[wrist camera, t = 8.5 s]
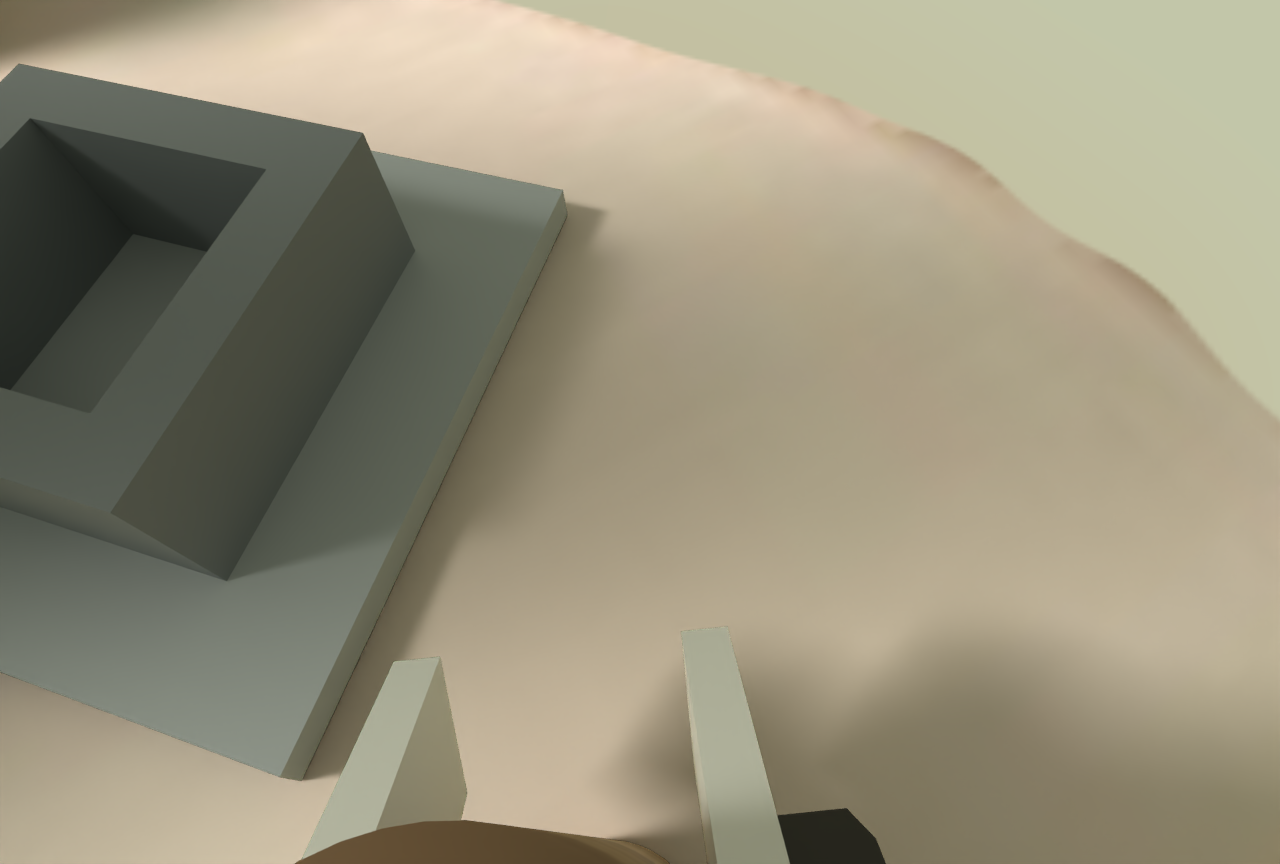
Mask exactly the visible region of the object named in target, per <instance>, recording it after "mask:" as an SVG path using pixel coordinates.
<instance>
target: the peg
mask: <svg viewBox="0 0 1280 864" xmlns="http://www.w3.org/2000/svg"><path fill="white" fill-rule="evenodd" d="M295 864H670V863H669V862H668V861H666V860H665V859H664V858H663V857H661V856H659V855H658V854H656V853H655V852H653V851H651V850H649V849H647V848H644V847H642V846H640V845H637V844H633V843H630V842H626V841H619V840H611V839H604V838H596V837H589V836H581V835H574V834H566V833H559V832H551V831H544V830H536V829H529V828H521V827H514V826H506V825H499V824H491V823H483V822H475V821H467V820H461V821H423V822H417V823H411V824H406V825H400V826H394V827H388V828H382V829H379V830H376V831H373V832H369V833H366V834H363V835H360V836H357V837H353V838H350V839H347V840H344V841H341V842H338V843H336V844H334V845H332V846H330V847H328V848H326V849H323V850H321V851H319V852H317V853H315V854H313V855H310V856H308V857H306V858H304V859H302V860H300V861H298V862H296V863H295Z"/></svg>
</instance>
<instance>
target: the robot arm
mask: <svg viewBox="0 0 1280 864" xmlns="http://www.w3.org/2000/svg"><path fill="white" fill-rule="evenodd" d="M681 635H682V646H683V657H684V667H685V678H686V688H687V699H688V709H689V720H690V731H691V741H692V752H693V762H694V772H695V779H696V786H697V793H698V800H699V807H700V814H701V821H702V828H703V836H704V843H705V850H706V857H707V864H886V863H885V860H884V858H883V855H882V853H881V851H880V848H879V846H878V843H877V841H876V838H875V837H874V836H873V835H872V834H871V833H870V832H869V831H868V830H867V829H866V828H865V827H864V826H863V825H862V824H861V823H860V822H859V821H858V820H857V819H856V818H855V817H854V816H853V815H852V814H851V812H850V811H849V810H848V809H847V808H844V809H834V810H825V811H815V812H806V813H796V814H787V815H777V813H776V809H775V805H774V801H773V798H772V794H771V790H770V786H769V783H768V779H767V775H766V771H765V767H764V764H763V760H762V756H761V752H760V748H759V745H758V741H757V737H756V733H755V729H754V726H753V722H752V718H751V714H750V711H749V707H748V703H747V699H746V695H745V692H744V688H743V684H742V680H741V676H740V673H739V669H738V665H737V661H736V657H735V654H734V650H733V646H732V642H731V639H730V635H729V631H728V627H717V628H708V629H698V630H689V631H681ZM466 797H467V789H466V784H465V779H464V774H463V769H462V764H461V759H460V754H459V749H458V744H457V739H456V734H455V729H454V724H453V719H452V714H451V709H450V704H449V699H448V694H447V689H446V684H445V679H444V673H443V668H442V663H441V658H440V657H432V658H423V659H413V660H404V661H394V662H393V664H392V667H391V669H390V671H389V673H388V675H387V677H386V679H385V682H384V684H383V686H382V688H381V690H380V692H379V694H378V697H377V699H376V701H375V703H374V705H373V707H372V709H371V712H370V714H369V716H368V718H367V720H366V722H365V724H364V727H363V729H362V731H361V733H360V735H359V737H358V739H357V742H356V744H355V746H354V748H353V750H352V752H351V754H350V757H349V759H348V761H347V763H346V765H345V767H344V769H343V772H342V774H341V776H340V778H339V780H338V782H337V784H336V787H335V789H334V791H333V793H332V795H331V797H330V799H329V802H328V804H327V806H326V808H325V810H324V812H323V814H322V817H321V819H320V821H319V823H318V825H317V827H316V829H315V832H314V834H313V836H312V838H311V840H310V842H309V844H308V847H307V849H306V851H305V853H304V855H303V857H302V859H304V858H306V857H308V856H310V855H313V854H315V853H317V852H319V851H321V850H323V849H326V848H328V847H330V846H332V845H334V844H336V843H338V842H341V841H344V840H347V839H350V838H353V837H357V836H360V835H363V834H366V833H369V832H373V831H376V830H379V829H382V828H388V827H394V826H400V825H406V824H411V823H417V822H423V821H461V818H462V814H463V809H464V805H465V801H466Z"/></svg>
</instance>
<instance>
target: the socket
mask: <svg viewBox="0 0 1280 864" xmlns="http://www.w3.org/2000/svg"><path fill="white" fill-rule="evenodd" d="M566 217H567V210H566V205H565V199H564V194H563V190H560V189H555V188H550V187H545V186H540V185H535V184H531V183H526V182H521V181H516V180H511V179H506V178H501V177H497V176H492V175H487V174H482V173H477V172H472V171H467V170H462V169H458V168H453V167H448V166H443V165H438V164H433V163H428V162H424V161H419V160H414V159H409V158H404V157H399V156H394V155H390V154H385V153H380V152H375V151H371V150H370V148H369V145H368V143H367V141H366V139H365V136H364V134H363V133H361V132H356V131H351V130H346V129H341V128H336V127H331V126H326V125H321V124H316V123H311V122H306V121H301V120H296V119H291V118H286V117H281V116H276V115H271V114H266V113H261V112H256V111H251V110H246V109H241V108H236V107H232V106H227V105H222V104H217V103H212V102H207V101H202V100H197V99H192V98H187V97H182V96H177V95H172V94H167V93H162V92H157V91H152V90H147V89H142V88H137V87H132V86H127V85H122V84H117V83H112V82H107V81H102V80H97V79H93V78H88V77H83V76H78V75H73V74H68V73H63V72H58V71H53V70H48V69H43V68H38V67H33V66H28V65H23V64H18V65H17V66H16V67H15V68H14V69H13V70H12V71H11V72H10V73H9V74H8V75H7V76H6V77H5V78H4V79H3V80H2V81H1V82H0V672H1V673H4V674H6V675H9V676H12V677H14V678H17V679H20V680H22V681H25V682H28V683H30V684H33V685H36V686H38V687H41V688H44V689H46V690H49V691H52V692H54V693H57V694H60V695H62V696H65V697H68V698H70V699H73V700H76V701H78V702H81V703H84V704H86V705H89V706H92V707H94V708H97V709H100V710H102V711H105V712H108V713H110V714H113V715H116V716H118V717H121V718H124V719H126V720H129V721H131V722H134V723H137V724H139V725H142V726H145V727H147V728H150V729H153V730H155V731H158V732H161V733H163V734H166V735H169V736H171V737H174V738H177V739H179V740H182V741H185V742H187V743H190V744H193V745H195V746H198V747H201V748H203V749H206V750H209V751H211V752H214V753H217V754H219V755H222V756H225V757H227V758H230V759H233V760H235V761H238V762H241V763H243V764H246V765H249V766H251V767H254V768H257V769H259V770H262V771H265V772H267V773H270V774H273V775H275V776H278V777H281V778H287V779H293V780H298V781H302V779H303V777H304V775H305V772H306V770H307V768H308V766H309V764H310V762H311V760H312V758H313V755H314V753H315V751H316V749H317V747H318V745H319V743H320V741H321V738H322V736H323V734H324V732H325V730H326V728H327V726H328V724H329V721H330V719H331V717H332V715H333V713H334V711H335V709H336V706H337V704H338V702H339V700H340V698H341V696H342V694H343V692H344V689H345V687H346V685H347V683H348V681H349V679H350V677H351V675H352V672H353V670H354V668H355V666H356V664H357V662H358V660H359V658H360V655H361V653H362V651H363V649H364V647H365V645H366V643H367V641H368V638H369V636H370V634H371V632H372V630H373V628H374V626H375V624H376V621H377V619H378V617H379V615H380V613H381V611H382V609H383V606H384V604H385V602H386V600H387V598H388V596H389V594H390V592H391V589H392V587H393V585H394V583H395V581H396V579H397V577H398V575H399V572H400V570H401V568H402V566H403V564H404V562H405V560H406V558H407V555H408V553H409V551H410V549H411V547H412V545H413V543H414V541H415V538H416V536H417V534H418V532H419V530H420V528H421V526H422V523H423V521H424V519H425V517H426V515H427V513H428V511H429V509H430V506H431V504H432V502H433V500H434V498H435V496H436V494H437V492H438V489H439V487H440V485H441V483H442V481H443V479H444V477H445V475H446V472H447V470H448V468H449V466H450V464H451V462H452V460H453V458H454V455H455V453H456V451H457V449H458V447H459V445H460V443H461V441H462V438H463V436H464V434H465V432H466V430H467V428H468V426H469V423H470V421H471V419H472V417H473V415H474V413H475V411H476V409H477V406H478V404H479V402H480V400H481V398H482V396H483V394H484V392H485V389H486V387H487V385H488V383H489V381H490V379H491V377H492V375H493V372H494V370H495V368H496V366H497V364H498V362H499V360H500V358H501V355H502V353H503V351H504V349H505V347H506V345H507V343H508V341H509V338H510V336H511V334H512V332H513V330H514V328H515V326H516V323H517V321H518V319H519V317H520V315H521V313H522V311H523V309H524V306H525V304H526V302H527V300H528V298H529V296H530V294H531V292H532V289H533V287H534V285H535V283H536V281H537V279H538V277H539V275H540V272H541V270H542V268H543V266H544V264H545V262H546V260H547V258H548V255H549V253H550V251H551V249H552V247H553V245H554V243H555V240H556V238H557V236H558V234H559V232H560V230H561V228H562V226H563V223H564V221H565V219H566Z"/></svg>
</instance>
